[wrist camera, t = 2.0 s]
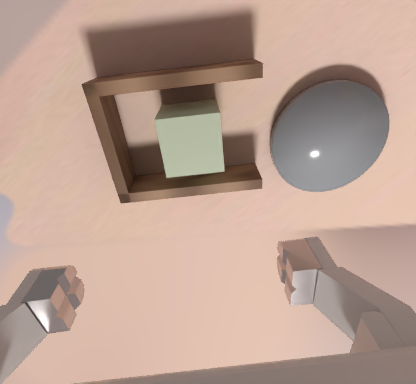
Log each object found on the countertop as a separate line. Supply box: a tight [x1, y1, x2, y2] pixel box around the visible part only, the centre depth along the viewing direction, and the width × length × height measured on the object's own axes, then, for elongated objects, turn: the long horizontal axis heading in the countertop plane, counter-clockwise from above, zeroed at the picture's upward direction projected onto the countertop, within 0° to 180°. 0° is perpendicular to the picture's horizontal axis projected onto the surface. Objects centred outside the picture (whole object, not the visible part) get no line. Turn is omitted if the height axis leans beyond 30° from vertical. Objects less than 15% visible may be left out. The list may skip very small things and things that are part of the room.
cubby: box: [82, 59, 263, 203], centre depth 24 cm, size 14×11×4 cm
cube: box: [155, 99, 225, 178], centre depth 23 cm, size 5×5×5 cm
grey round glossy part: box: [270, 79, 389, 192], centre depth 26 cm, size 11×11×1 cm
